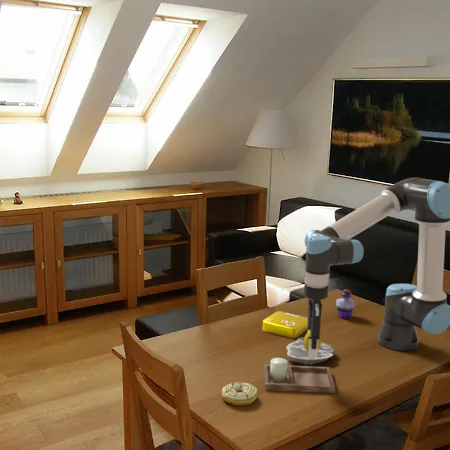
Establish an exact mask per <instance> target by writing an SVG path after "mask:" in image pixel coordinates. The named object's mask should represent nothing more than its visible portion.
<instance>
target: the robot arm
mask: <svg viewBox="0 0 450 450" xmlns="http://www.w3.org/2000/svg"><path fill="white" fill-rule="evenodd" d="M403 211H412V212H414V221H416V222H417V224H418V246H417V247H418V248H417V249H418V251H417V271H416V272H417V273H416V274H417V275H416V279H417V280H416V285H415V284H410V283H392V284H390V285H388V287H387V288H386V293H385V301H384V313H383V322H382V325H381V327H380V328H379V331H378V333H377V337H376V338H377V342H378V345H381V346H383V347H384V348H386V349H391V350H394V351H404V352H406V351H414V350H415V349H417V348H419V341H420V339H419V337H418V331H417V328H419V329H420V330H422V332H423V331H424V332H425V333H430V334H432V335H438V334H441V333H443V332H444V331H446V329H448V327H450V305H449V304H448V303H447V301H448V299H447V298H448V297H447V296H448V295H447V294H446V292H445V291H444V290H443V288H444V287H443V284H444V267H445V265H444V264H445V244H446V229H447V228H446V227H447V225H448V224H449V223H450V183H447V182H444V181H442V180H433V179H426V178H421V177H409V178H406V179H403V180H400V181H397V182H396V183H394V184H392V185H389V186H388V187H386V188H385V189H383V190H381V192H380V194H379V195H378V196H377V197H375V198H373V199H372V200H370V201H368V202H366V203H365V204H364V205H362V206H360V207H358V208H356V209H354V210H353V211H352V212H350V213H348V214H347V215H345V216H343V217H341V218H340V219H338V220H336V221H335V222H334V223H332V224H330V225H328V226H325V228H323V229H321V230H320V229H312V230H310V231H308V232H307V233H306V235H305V236H304V246H305V248H306V249H305V252H306V253H305V271H304V272H305V273H303V274H302V276H303V278H304V286H303V296H304V297H305V298H307V299H308V300H307V301H308V302H307V304H308V310H307V318H308V322H307V325H308V329H307V333H308V332H310V331H311V336H310V337H308V339H310V340H309V355H308V357H309V358H317V353H318V340H319V339H320V337H321V335H320V334H321V320H322V313H323V310H322V309H323V303H322V300H326V299H327V298H328V295H329V286H328V285H329V283H330V270H331V269H330V268H331V266H338V265H339V266H340V265H347V264H348V265H351V264H355V263H359V262H361V261H362V259H363V257H364V251H365V250H364V245H363V244H362V242H360V241H359V240H357V239H352V238H353V237H355V236H357V235H358V234H360V233H362V232H363V231H365V230H367V229H368V228H371V227H372V226H373V225H375V224H377V223H378V222H380V221H382V220H383V219H385V218H387V217H389V216H390V215H391V214H392V215H396V214H398V213H400V212H403ZM416 327H417V328H416Z"/></svg>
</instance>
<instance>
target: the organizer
mask: <svg viewBox="0 0 450 450" xmlns="http://www.w3.org/2000/svg"><path fill="white" fill-rule="evenodd" d="M263 373H264V374H263V375H264V377H263V378H264V390H265V391H282V392H283V391H284V392H304V393H305V392H307V393H324V394H325V393H330V394H331V393H332V394H336V385H335V382H334V379H333V374H332V371H331V369H330V367H329V366H327V367H326V366H312V365H303V366H302V365H288V368H287V380H286V381H285V382H280V383H279V382H274V381H272V380H270V364H263Z"/></svg>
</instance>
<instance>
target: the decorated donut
mask: <svg viewBox="0 0 450 450" xmlns="http://www.w3.org/2000/svg"><path fill="white" fill-rule="evenodd" d="M221 397H222V399H223V401H225V402H227V403H228V404H232V405H234V406H238V407H240V406H247V405H251V404H252V403H254V402H255V400H256V399H257V397H258V389H257V387H256V386H254V385H253V384H251V383H250V382H248V383H247V382H239V381H238V382H231V383H228V384H226V385H225V386H223V388H222V389H221Z"/></svg>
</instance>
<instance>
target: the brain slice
mask: <svg viewBox="0 0 450 450" xmlns="http://www.w3.org/2000/svg"><path fill="white" fill-rule="evenodd" d="M304 338H305V337H298V338H297V340H295V341H293V342H291V343H288V345H286V347H285V349H286V355H287V360H289V361H290V362H292V363H295V364H296V363H298V364H301V365H304V366H313V365H315V364H319V363H324V362H325V361H327V360H328V359H329V358H331V357H333V356H334V353H335V350H336V349H335V348H334V347H332V345H330V344H328V343H326V342H324V341H321V347H320V349H319V350H318V353H317V358H309V357H308V355H309V352H308V351H307V350H306V349H305V347H304Z"/></svg>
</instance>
